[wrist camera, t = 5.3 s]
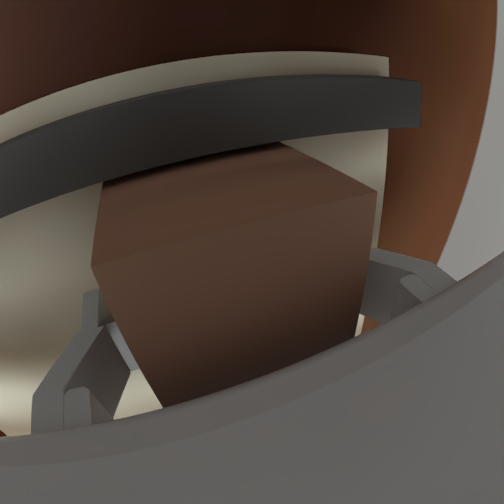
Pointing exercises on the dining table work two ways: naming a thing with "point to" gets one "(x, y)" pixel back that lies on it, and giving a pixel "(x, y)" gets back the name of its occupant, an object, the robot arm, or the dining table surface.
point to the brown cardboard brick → (232, 265)
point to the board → (153, 155)
